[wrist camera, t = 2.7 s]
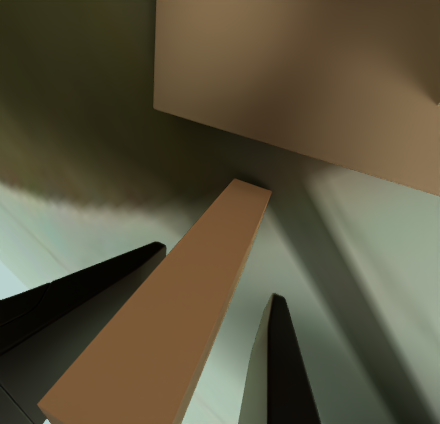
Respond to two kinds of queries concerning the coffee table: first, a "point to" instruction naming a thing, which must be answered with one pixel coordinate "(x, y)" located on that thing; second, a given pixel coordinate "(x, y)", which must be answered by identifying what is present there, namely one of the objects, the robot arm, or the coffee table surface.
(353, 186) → the coffee table surface
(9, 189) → the coffee table surface
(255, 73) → the walnut board
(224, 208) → the terracotta domino
